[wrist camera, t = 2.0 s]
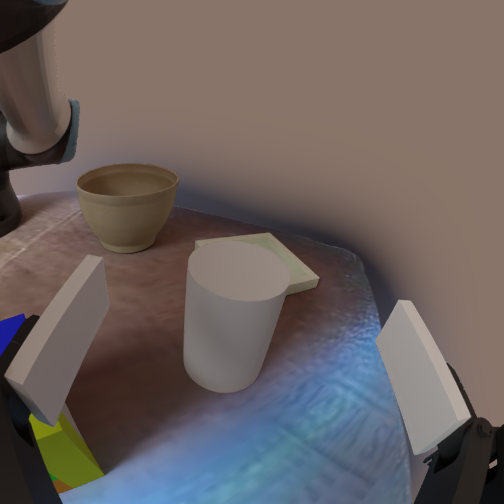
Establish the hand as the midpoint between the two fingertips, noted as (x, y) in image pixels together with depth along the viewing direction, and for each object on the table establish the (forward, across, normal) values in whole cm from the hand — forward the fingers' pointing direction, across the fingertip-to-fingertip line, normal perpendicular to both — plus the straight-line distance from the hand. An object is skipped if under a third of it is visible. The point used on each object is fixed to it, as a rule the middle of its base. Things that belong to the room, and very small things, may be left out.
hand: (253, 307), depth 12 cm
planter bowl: (+31, -18, -17) cm, 40 cm away
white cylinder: (+10, 0, -17) cm, 20 cm away
